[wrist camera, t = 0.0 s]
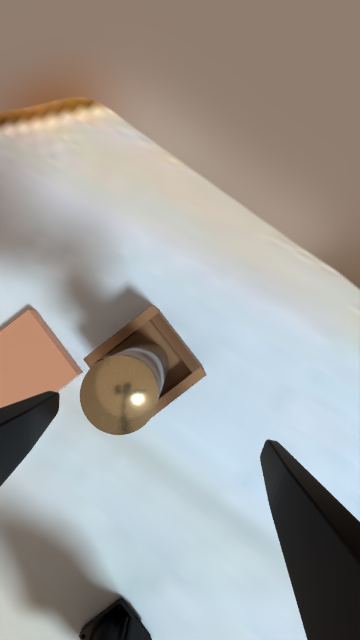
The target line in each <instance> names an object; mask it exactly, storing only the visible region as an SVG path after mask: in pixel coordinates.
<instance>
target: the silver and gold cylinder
mask: <svg viewBox="0 0 360 640" xmlns="http://www.w3.org/2000/svg"><path fill="white" fill-rule="evenodd" d="M168 368H169V360H168V356H167V354H166V352H165V350H164V349H163V348H162V347H161V346H159V345H157V344H155V343H152V342H142V343H139V344H137V345H135V346H132V347H130V348H128V349H126V350H123V351H121V352H119V353H117V354H114V355H112V356H110V357H108V358H105V359H103V360H101V361H99V362H98V363H96V364H95V365H94V366H93V367H92V368H91V369H90V370H89V371H88V372H87V374H86V375H85V377H84V379H83V382H82V385H81V389H80V402H81V406H82V409H83V412H84V414H85V416H86V417H87V419H88V420H89V421H90V422H91V424H93V425H94V426H95V427H96V428H98V429H99V430H101V431H103V432H106V433H108V434H113V435H124V434H129V433H132V432H135V431H137V430H138V429H140V428H141V427H143V426H144V425H145V424H146V423H147V422H148V421H149V420H150V418H151V417H152V415H153V413H154V411H155V408H156V405H157V402H158V399H159V396H160V393H161V390H162V387H163V384H164V381H165V378H166V375H167V372H168Z"/></svg>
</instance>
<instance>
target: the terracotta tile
mask: <svg viewBox="0 0 360 640" xmlns="http://www.w3.org/2000/svg"><path fill="white" fill-rule="evenodd" d="M81 373H83V372H82V370H81V369H80V368H79V366H78V365H77V364H76V362H75V361H74V360H73V358H72V357H71V356H70V354H69V353H68V352H67V350H66V349H65V348H64V346H63V345H62V344H61V342H60V341H59V340H58V338H57V337H56V336H55V334H54V333H53V332H52V331H51V329H50V328H49V327H48V325H47V324H46V323H45V321H44V320H43V319H42V317H41V316H40V315H39V313H38V312H37V311H36V310H27V311H26V312H25V313H23V314H22V315H21V316H20V317H18V318H17V319H16V320H14V321H13V322H12V323H11V324H9V325H8V326H7V327H6V328H4V329H3V330H2V331H0V408H2V407H4V406H7V405H10V404H13V403H16V402H18V401H21V400H24V399H27V398H30V397H32V396H35V395H38V394H41V393H43V392H46V391H54V392H58V391H60V390H61V389H62V388H63V387H65V386H66V385H67V384H69V383H70V382H71V381H72V380H74V379H75V378H76V377H78V376H79V375H80V374H81Z"/></svg>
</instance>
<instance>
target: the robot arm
mask: <svg viewBox="0 0 360 640" xmlns="http://www.w3.org/2000/svg"><path fill="white" fill-rule="evenodd" d="M58 410H59V393H58V392H54V391H46V392H43V393H41V394H38V395H35V396H32V397H30V398H27V399H24V400H21V401H18V402H16V403H13V404H10V405H7V406H4V407H2V408H0V486H1V485H2V484H3V483H4V482H5V480H6V479H7V478H8V477H9V476H10V475H11V473H12V472H13V471H14V470H15V469H16V467H17V466H18V465H19V464H20V463H21V462H22V460H23V459H24V458H25V457H26V456H27V454H28V453H29V452H30V451H31V449H32V448H33V447H34V445H35V444H36V442H37V441H38V440H39V438H40V437H41V435H42V434H43V433H44V431H45V430H46V428H47V427H48V426H49V424H50V423H51V422H52V420H53V419H54V417H55V416H56V414H57V413H58ZM260 461H261V466H262V471H263V476H264V481H265V486H266V491H267V496H268V501H269V505H270V509H271V513H272V517H273V520H274V524H275V527H276V531H277V534H278V538H279V542H280V545H281V549H282V552H283V556H284V559H285V563H286V566H287V570H288V573H289V577H290V580H291V584H292V587H293V591H294V594H295V598H296V601H297V605H298V608H299V612H300V615H301V619H302V622H303V626H304V629H305V633H306V636H307V640H360V522H359V521H358V520H357V519H356V518H355V517H354V516H353V515H352V514H351V513H350V512H349V511H348V510H347V509H346V508H345V507H344V506H343V505H342V504H341V503H340V502H339V501H338V500H337V499H336V498H335V497H334V496H333V495H332V494H331V493H330V492H329V491H328V490H327V489H326V488H325V487H324V486H322V485H321V484H320V483H319V482H318V481H317V480H316V479H315V478H314V477H313V476H312V475H311V474H310V473H309V472H308V471H307V470H306V469H305V468H304V467H303V466H302V465H301V464H300V463H299V462H298V461H297V460H296V459H295V458H294V457H293V456H292V455H291V454H290V453H289V452H288V451H287V450H286V449H285V448H284V447H283V446H282V445H281V444H280V443H278V442H277V441H274V440H269V439H268V440H266V442H265V444H264V447H263V449H262V452H261V455H260ZM79 637H80V639H81V640H152V639H151V637H150V636H149V635H148V633H147V632H146V630H145V629H144V628H143V626H142V625H141V624H140V622H139V621H138V619H137V618H136V617H135V615H134V614H133V613H132V611H131V610H130V609H129V607H128V606H127V604H126V603H125V602H124V600H122V599H119V600H117V601H116V602H115V603H114V604H112V605H111V606H110V607H108V608H107V609H106V610H105V611H103V612H102V613H101V614H99V615H98V616H97V617H96V618H94V619H93V620H92V621H90V622H89V623H88V624H87V625H85V626H84V627H83V628H82V629H81V632H80V635H79Z"/></svg>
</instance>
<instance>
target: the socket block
mask: <svg viewBox="0 0 360 640" xmlns="http://www.w3.org/2000/svg"><path fill="white" fill-rule="evenodd" d="M142 342H152V343H155V344H157V345H159V346H161V347H162V348H163V349H164V350H165V352H166V354H167V356H168V360H169V368H168V372H167V375H166V378H165V381H164V384H163V387H162V390H161V393H160V396H159V399H158V402H157V405H156V408H155V411H154V413H153V415H152V417H153V416H154V415H156V414H157V413H158V412H159V411H161V410H162V409H163V408H165V407H166V406H167V405H168V404H170V403H171V402H172V401H174V400H175V399H176V398H177V397H179V396H180V395H181V394H183V393H184V392H185V391H186V390H188V389H189V388H190V387H191V386H193V385H194V384H195V383H197V382H198V381H199V380H200V379H202V378H203V377H204V376H206V373H205V371H204V369H203V366H202V364H201V363H200V362H199V361H198V359H197V358H196V357H195V355H194V354H193V353H192V352H191V350H190V349H189V348H188V346H187V345H186V344H185V343H184V341H183V340H182V339H181V337H180V336H179V335H178V334H177V332H176V331H175V330H174V328H173V327H172V326H171V325H170V323H169V322H168V321H167V319H166V318H165V317H164V316H163V314H162V313H161V312H160V310H159V309H158V308H156V307H154V306H153V305H152V306H150V307H149V308H148V309H147V310H145V311H144V312H143V313H141V314H140V315H139V316H138V317H136V318H135V319H134V320H132V321H131V322H130V323H129V324H127V325H126V326H125V327H123V328H122V329H121V330H120V331H118V332H117V333H116V334H115V335H113V336H112V337H111V338H109V339H108V340H107V341H106V342H104V343H103V344H102V345H100V346H99V347H98V348H97V349H95V350H94V351H93V352H91V353H90V354H89V355H88V356H86V357H85V358H84V361H85V362H86V363H87V365H88V366H89V367H90V369H91V368H92V367H93V366H94V365H95V364H96V363H98V362H99V361H101V360H103V359H105V358H108V357H110V356H112V355H114V354H117V353H119V352H121V351H123V350H126V349H128V348H130V347H132V346H135V345H137V344H139V343H142ZM152 417H151V418H152Z"/></svg>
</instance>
